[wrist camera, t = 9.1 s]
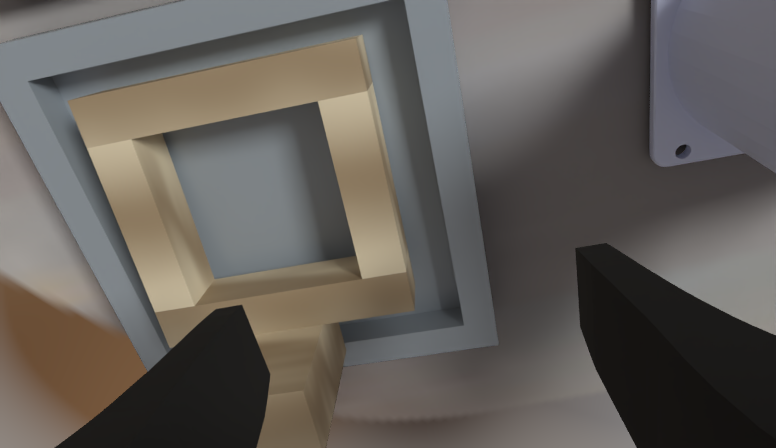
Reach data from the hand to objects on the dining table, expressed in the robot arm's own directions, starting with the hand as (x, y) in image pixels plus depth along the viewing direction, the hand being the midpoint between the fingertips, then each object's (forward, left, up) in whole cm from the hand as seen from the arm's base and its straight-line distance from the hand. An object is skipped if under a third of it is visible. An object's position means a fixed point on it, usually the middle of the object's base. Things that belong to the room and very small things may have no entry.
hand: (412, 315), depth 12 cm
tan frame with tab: (+5, +1, -8) cm, 10 cm away
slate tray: (+5, 0, -9) cm, 11 cm away
